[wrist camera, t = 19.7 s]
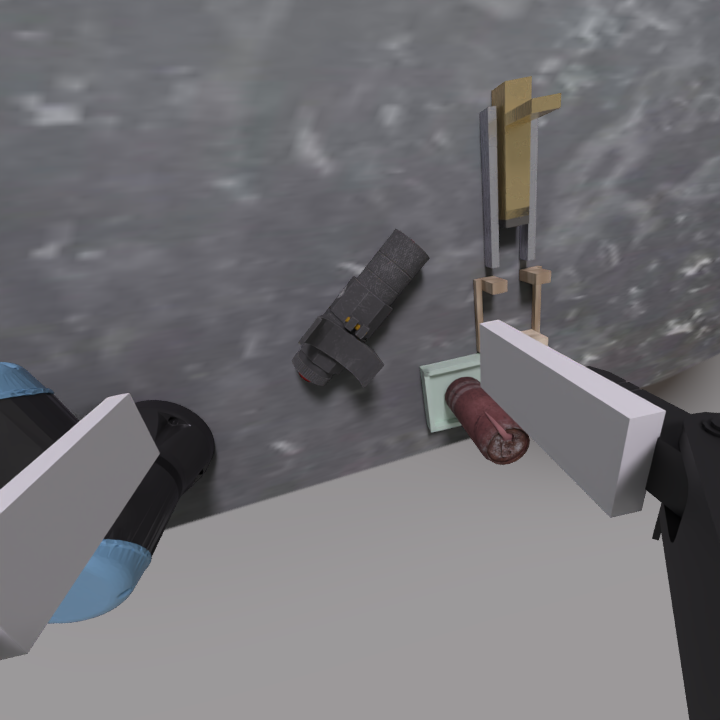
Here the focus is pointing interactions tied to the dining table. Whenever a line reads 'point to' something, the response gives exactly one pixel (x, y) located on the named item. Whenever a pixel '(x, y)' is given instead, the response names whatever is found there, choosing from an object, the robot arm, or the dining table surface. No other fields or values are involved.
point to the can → (486, 422)
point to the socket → (500, 285)
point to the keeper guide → (491, 190)
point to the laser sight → (359, 315)
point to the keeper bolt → (516, 146)
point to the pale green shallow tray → (445, 388)
